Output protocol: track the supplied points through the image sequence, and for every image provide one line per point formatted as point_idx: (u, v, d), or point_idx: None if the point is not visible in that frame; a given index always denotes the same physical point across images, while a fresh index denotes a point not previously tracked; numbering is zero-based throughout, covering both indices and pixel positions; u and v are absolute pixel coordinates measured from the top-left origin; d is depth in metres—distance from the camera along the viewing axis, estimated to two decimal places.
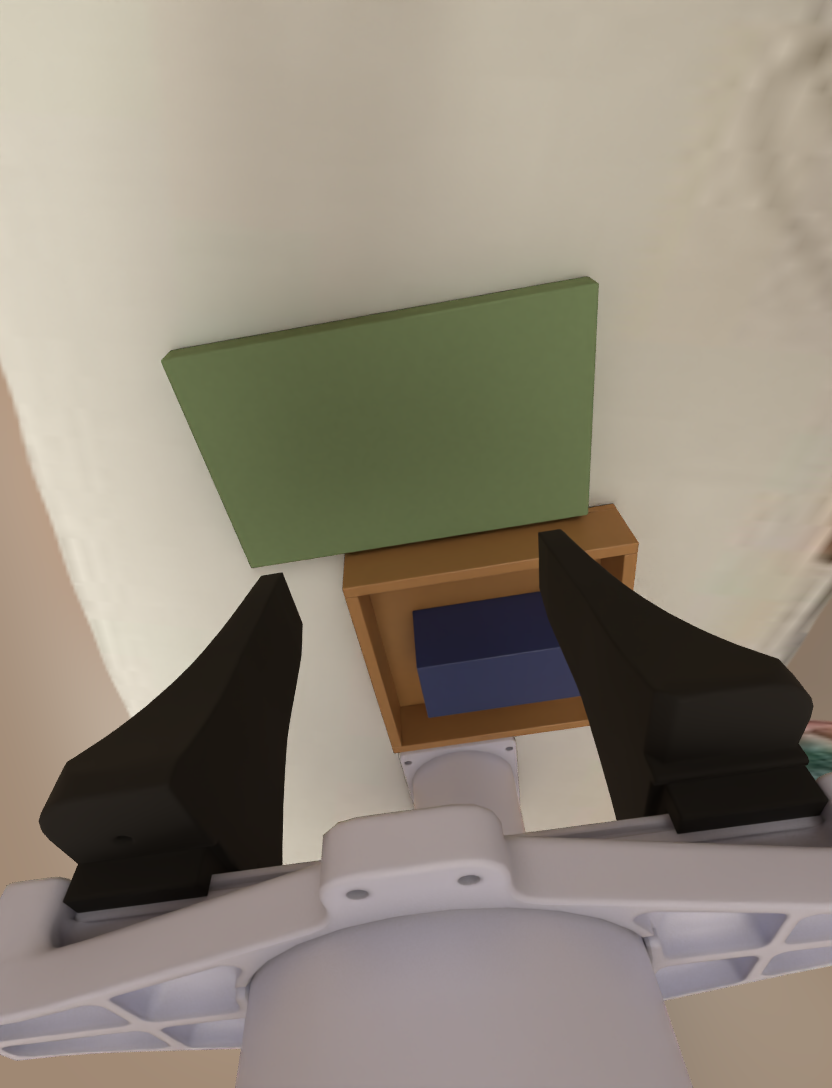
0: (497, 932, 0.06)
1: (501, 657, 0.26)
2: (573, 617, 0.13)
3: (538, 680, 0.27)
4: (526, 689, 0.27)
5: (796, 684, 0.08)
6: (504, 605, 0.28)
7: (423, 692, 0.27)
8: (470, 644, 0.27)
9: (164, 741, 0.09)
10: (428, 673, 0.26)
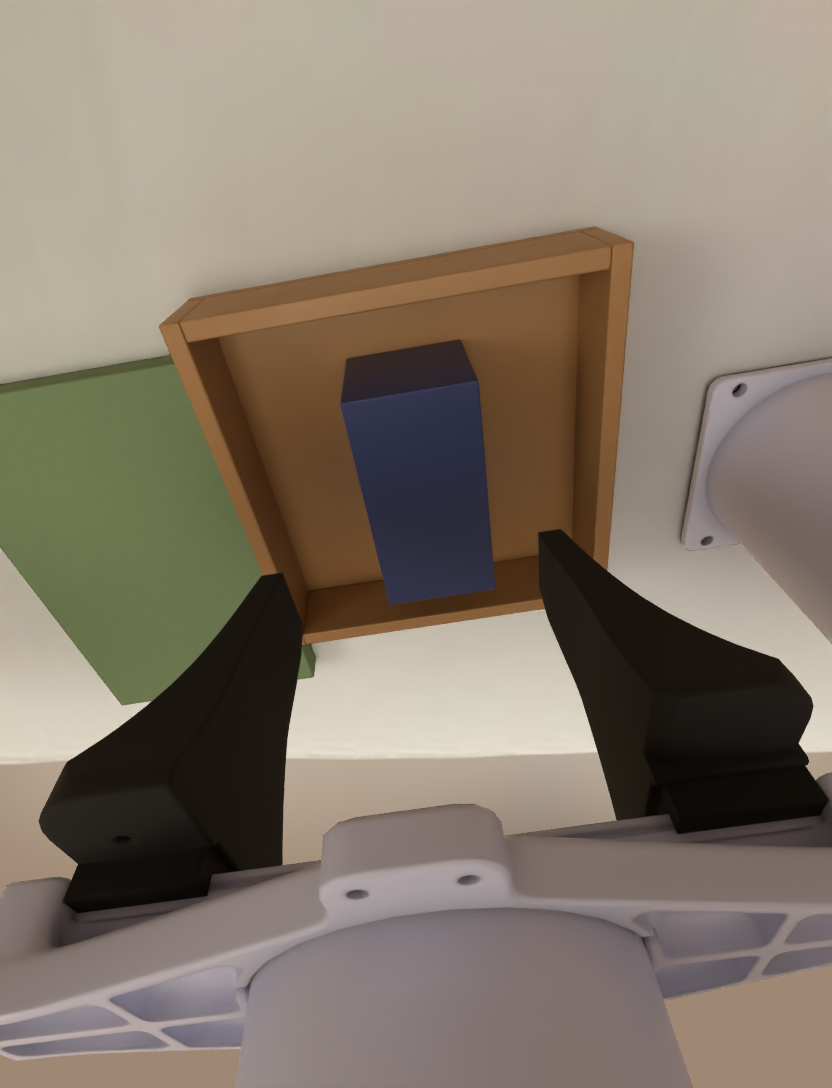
0: (497, 932, 0.06)
1: (369, 515, 0.18)
2: (573, 617, 0.13)
3: (426, 459, 0.17)
4: (447, 473, 0.17)
5: (796, 684, 0.08)
6: None
7: (438, 597, 0.20)
8: None
9: (164, 741, 0.09)
10: (400, 594, 0.20)
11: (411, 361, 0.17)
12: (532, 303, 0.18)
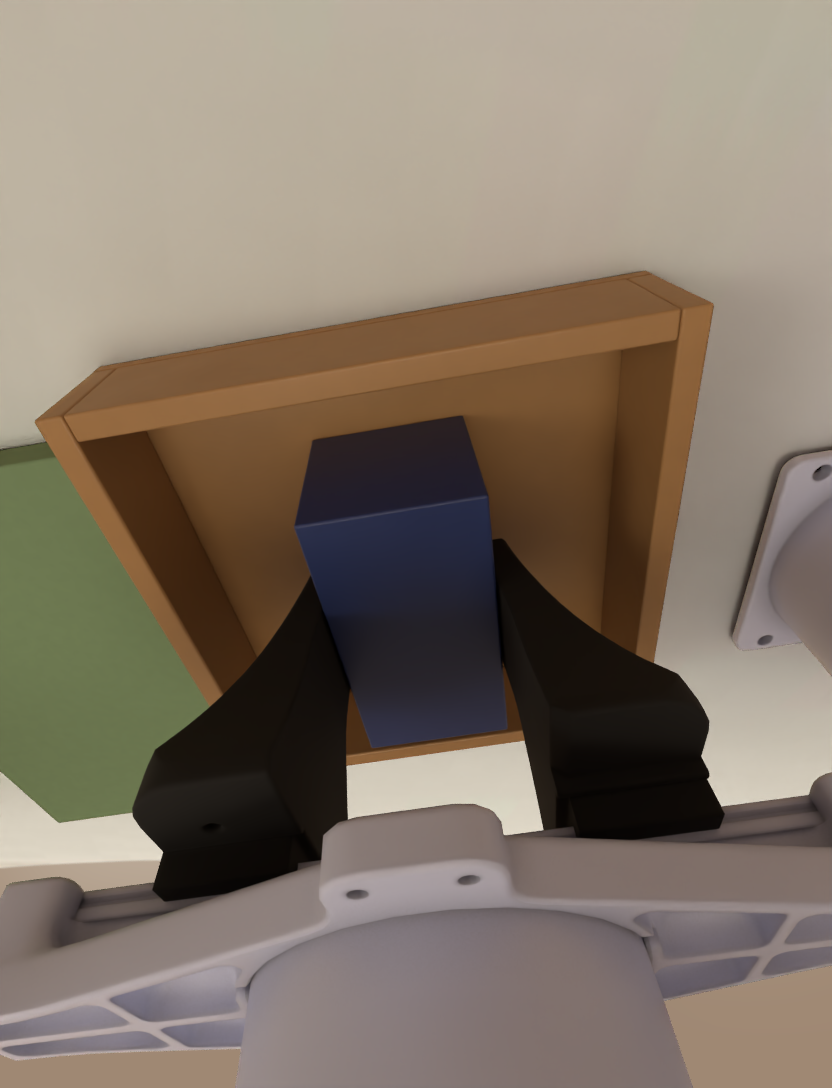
0: (497, 932, 0.06)
1: (342, 655, 0.13)
2: (505, 627, 0.13)
3: (416, 591, 0.12)
4: (444, 606, 0.13)
5: (689, 699, 0.08)
6: None
7: (433, 738, 0.16)
8: None
9: (252, 728, 0.09)
10: (385, 737, 0.15)
11: (396, 450, 0.13)
12: (558, 370, 0.13)
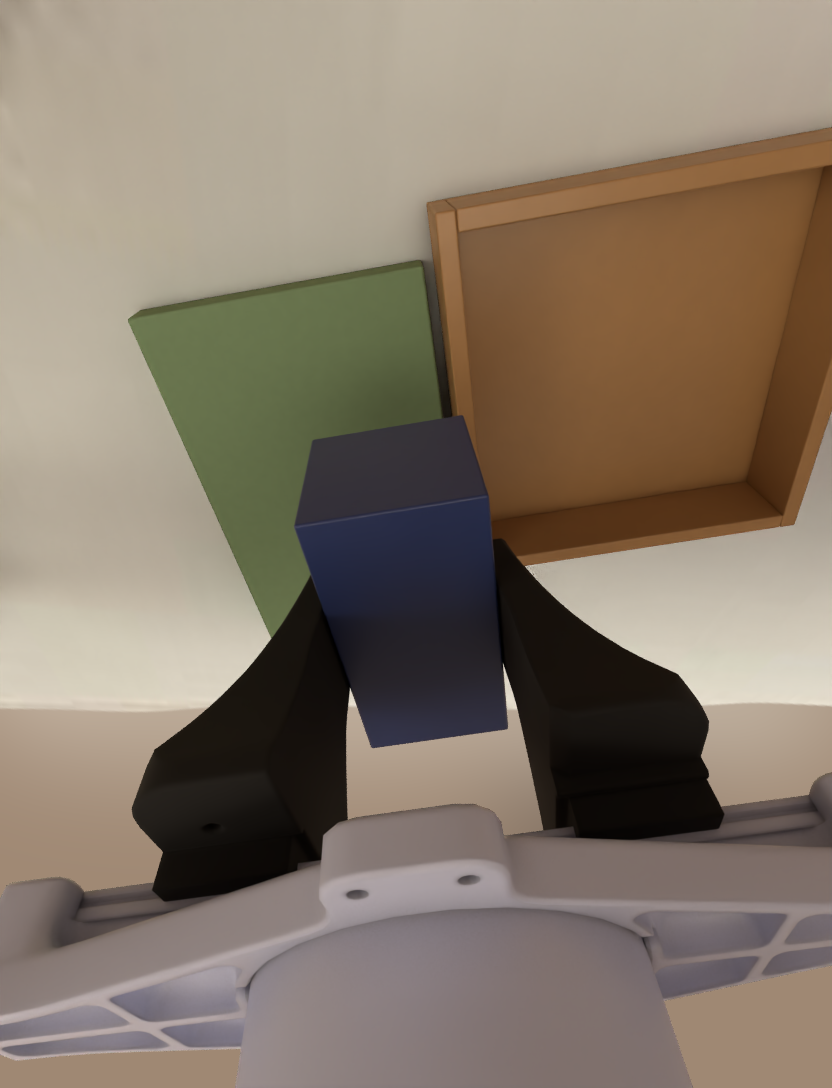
0: (497, 932, 0.06)
1: (342, 655, 0.13)
2: (505, 627, 0.13)
3: (416, 591, 0.12)
4: (445, 606, 0.13)
5: (689, 700, 0.08)
6: None
7: (434, 738, 0.16)
8: None
9: (252, 728, 0.09)
10: (385, 737, 0.15)
11: (396, 450, 0.13)
12: (767, 208, 0.18)
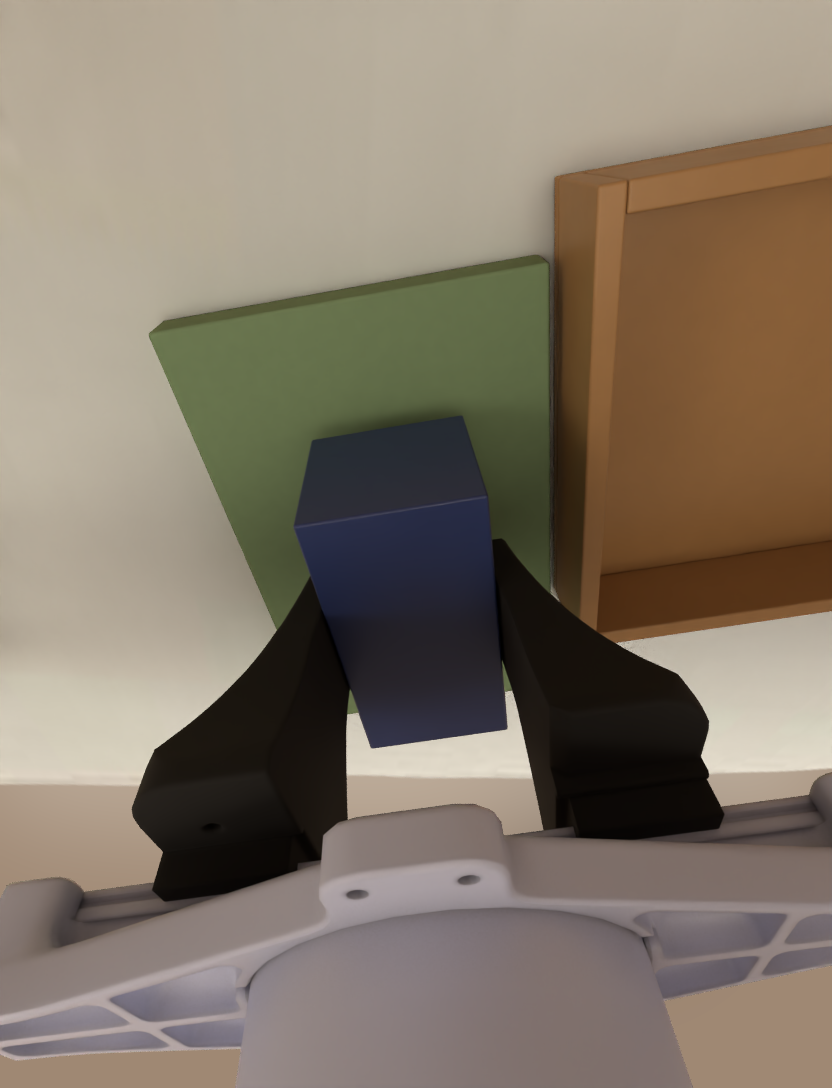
0: (497, 932, 0.06)
1: (341, 655, 0.13)
2: (505, 627, 0.13)
3: (416, 591, 0.12)
4: (444, 606, 0.13)
5: (689, 700, 0.08)
6: None
7: (433, 739, 0.16)
8: None
9: (251, 728, 0.09)
10: (384, 737, 0.15)
11: (396, 450, 0.13)
12: None
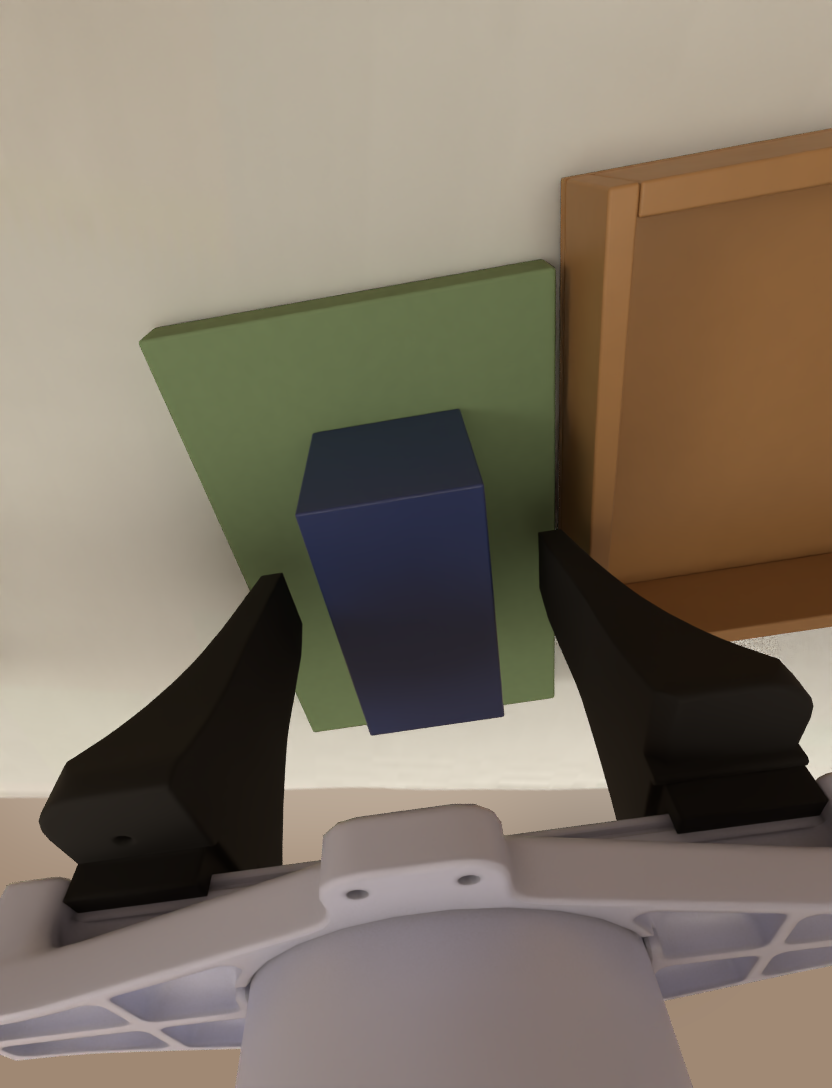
0: (497, 932, 0.06)
1: (341, 642, 0.14)
2: (573, 617, 0.13)
3: (414, 578, 0.13)
4: (442, 594, 0.13)
5: (796, 684, 0.08)
6: None
7: (431, 726, 0.16)
8: None
9: (164, 741, 0.09)
10: (383, 724, 0.16)
11: (395, 442, 0.13)
12: None
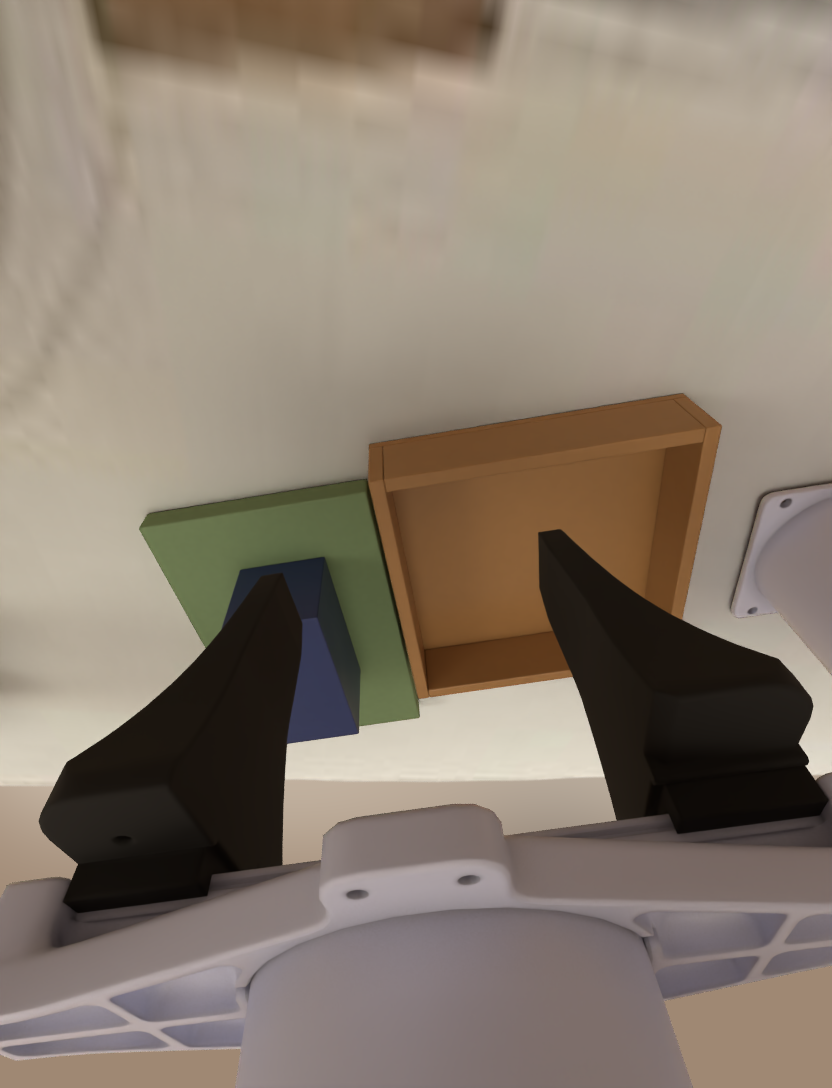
0: (497, 932, 0.06)
1: None
2: (573, 617, 0.13)
3: None
4: (306, 668, 0.23)
5: (796, 684, 0.08)
6: None
7: (315, 739, 0.26)
8: None
9: (164, 741, 0.09)
10: None
11: None
12: None
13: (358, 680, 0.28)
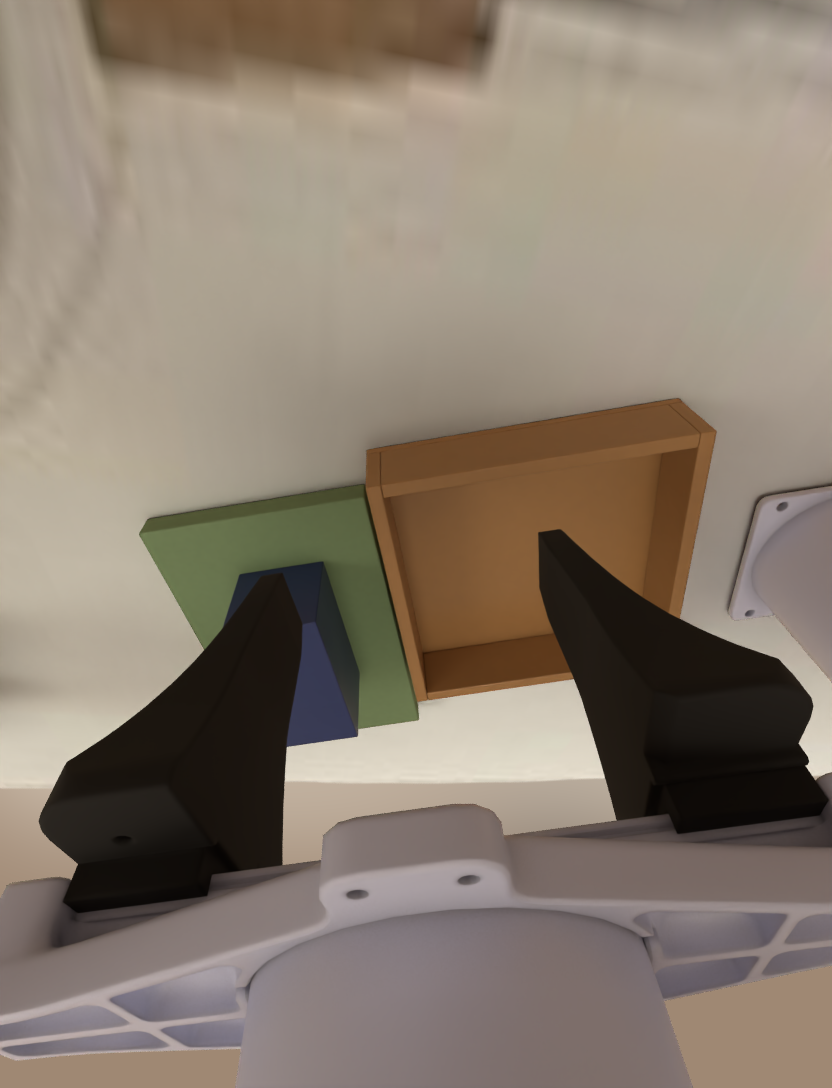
0: (497, 933, 0.06)
1: None
2: (573, 617, 0.13)
3: None
4: (304, 672, 0.24)
5: (796, 684, 0.08)
6: None
7: (314, 742, 0.27)
8: None
9: (164, 741, 0.09)
10: None
11: None
12: None
13: (357, 683, 0.29)
